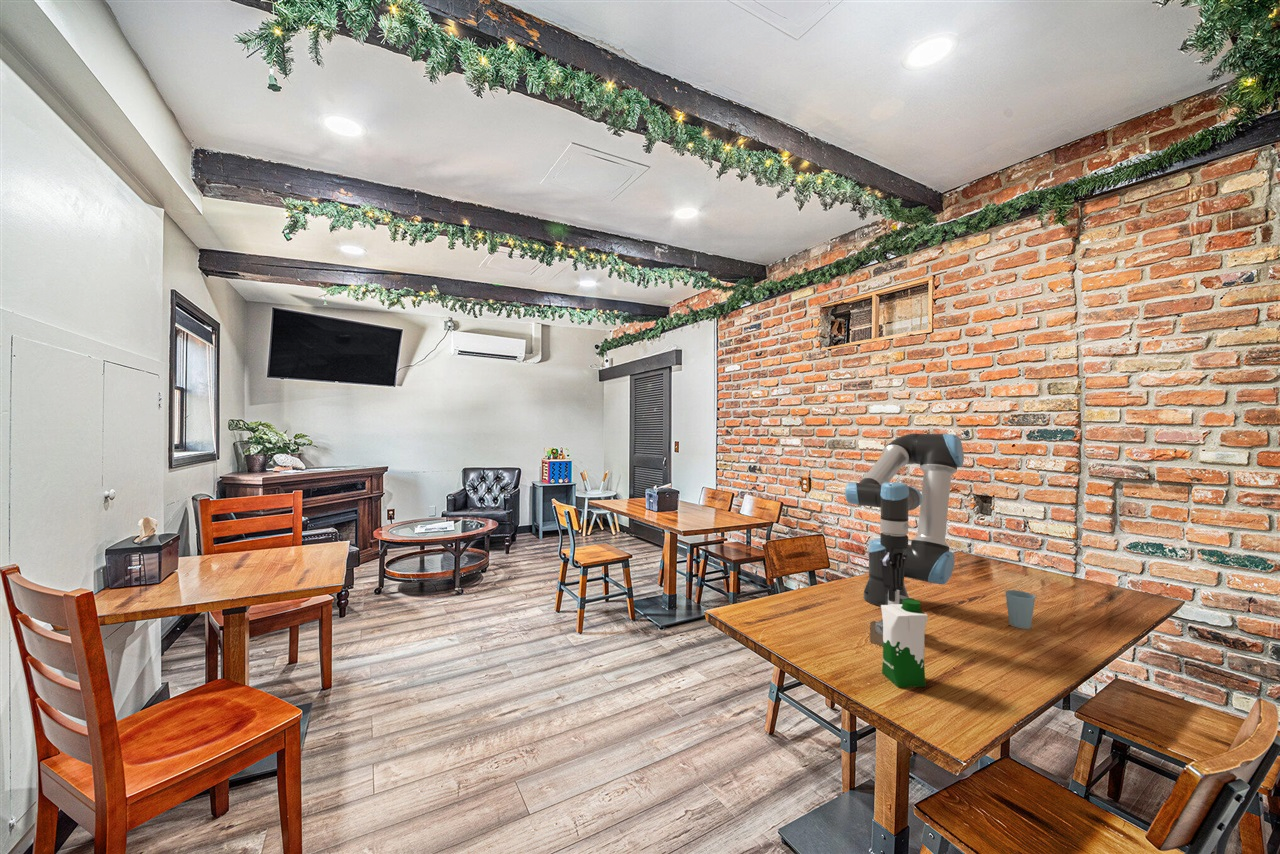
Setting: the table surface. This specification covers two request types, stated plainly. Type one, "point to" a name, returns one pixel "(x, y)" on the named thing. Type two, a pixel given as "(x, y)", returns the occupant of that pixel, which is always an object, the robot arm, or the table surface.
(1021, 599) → the cup
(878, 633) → the rail
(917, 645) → the milk carton
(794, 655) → the table surface
